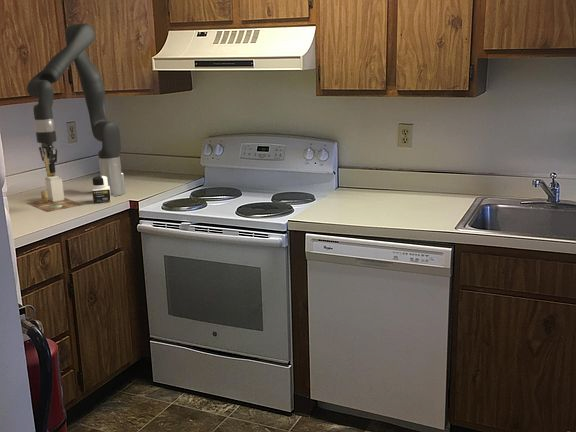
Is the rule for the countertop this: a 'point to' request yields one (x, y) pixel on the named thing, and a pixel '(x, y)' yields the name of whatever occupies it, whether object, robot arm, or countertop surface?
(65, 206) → the board
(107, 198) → the medicine bottle
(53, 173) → the brass pin
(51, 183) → the cover
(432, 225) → the countertop surface
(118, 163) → the robot arm
